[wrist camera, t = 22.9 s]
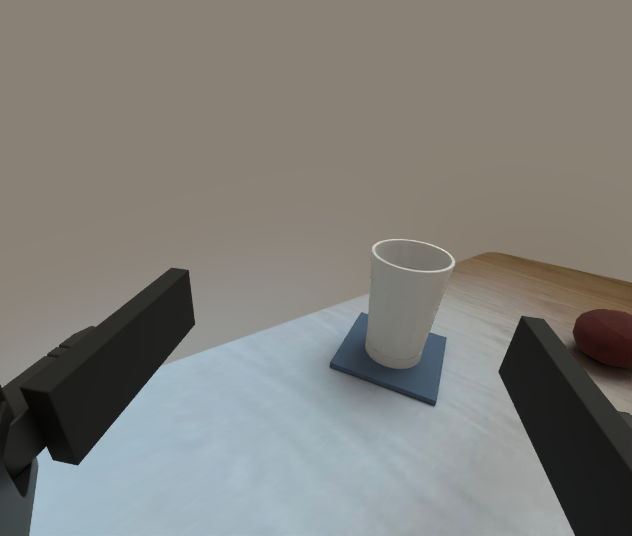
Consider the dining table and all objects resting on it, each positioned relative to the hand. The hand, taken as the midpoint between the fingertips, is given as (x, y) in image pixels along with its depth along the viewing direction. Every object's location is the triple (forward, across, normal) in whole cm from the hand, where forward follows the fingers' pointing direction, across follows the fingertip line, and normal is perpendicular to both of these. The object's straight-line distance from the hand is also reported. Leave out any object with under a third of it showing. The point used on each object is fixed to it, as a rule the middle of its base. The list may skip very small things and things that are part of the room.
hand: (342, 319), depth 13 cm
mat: (+20, +6, -18) cm, 27 cm away
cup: (+20, +6, -17) cm, 27 cm away
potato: (+25, +31, -18) cm, 44 cm away
